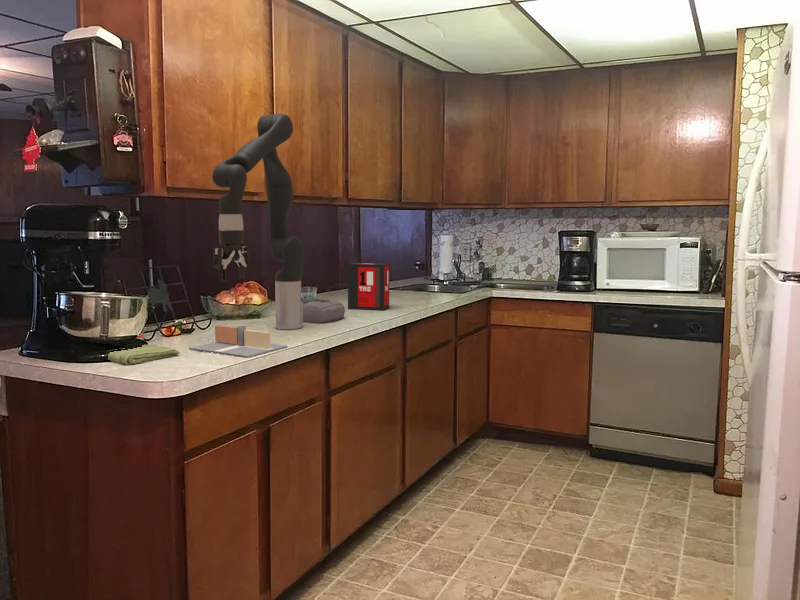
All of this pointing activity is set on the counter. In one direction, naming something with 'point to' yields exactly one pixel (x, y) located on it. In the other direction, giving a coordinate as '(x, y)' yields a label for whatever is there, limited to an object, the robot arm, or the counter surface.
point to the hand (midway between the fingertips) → (232, 280)
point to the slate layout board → (235, 351)
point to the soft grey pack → (322, 311)
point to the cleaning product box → (368, 286)
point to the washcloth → (141, 354)
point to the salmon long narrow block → (226, 334)
